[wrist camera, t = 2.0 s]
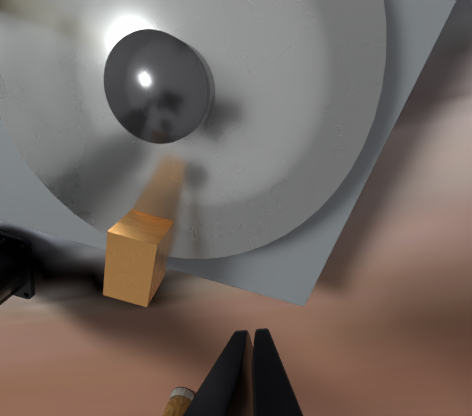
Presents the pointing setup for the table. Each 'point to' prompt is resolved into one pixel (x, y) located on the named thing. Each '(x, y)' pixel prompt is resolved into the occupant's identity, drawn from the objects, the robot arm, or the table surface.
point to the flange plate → (242, 146)
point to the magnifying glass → (178, 402)
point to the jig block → (299, 239)
